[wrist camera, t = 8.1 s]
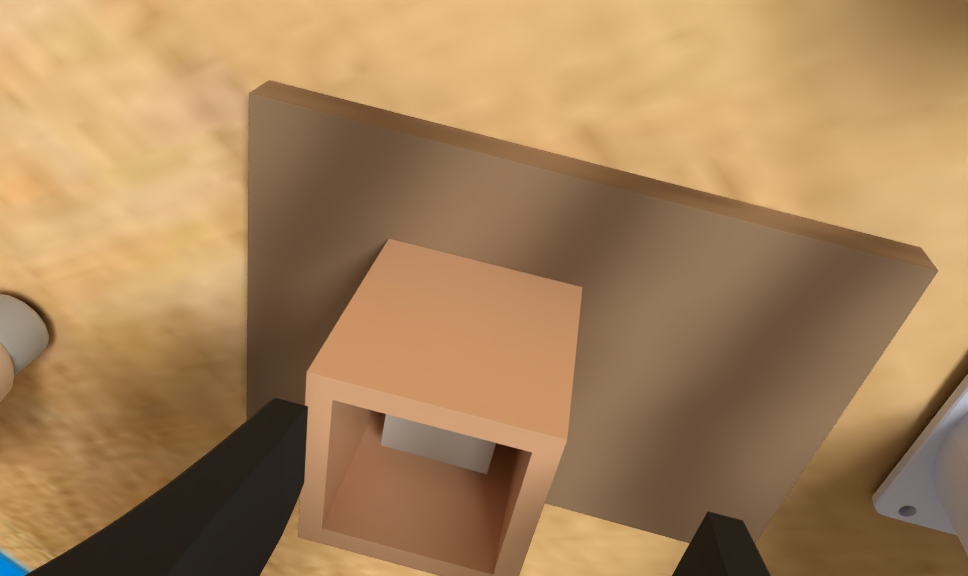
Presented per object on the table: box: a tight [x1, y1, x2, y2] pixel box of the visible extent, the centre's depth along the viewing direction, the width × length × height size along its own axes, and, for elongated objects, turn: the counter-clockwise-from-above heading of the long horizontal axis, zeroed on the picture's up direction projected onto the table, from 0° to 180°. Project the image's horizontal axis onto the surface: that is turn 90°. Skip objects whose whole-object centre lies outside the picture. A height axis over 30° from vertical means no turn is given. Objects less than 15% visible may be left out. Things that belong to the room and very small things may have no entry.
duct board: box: [247, 80, 938, 543], centre depth 20 cm, size 18×12×5 cm, turn 79°
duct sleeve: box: [298, 239, 582, 576], centre depth 18 cm, size 6×6×6 cm
